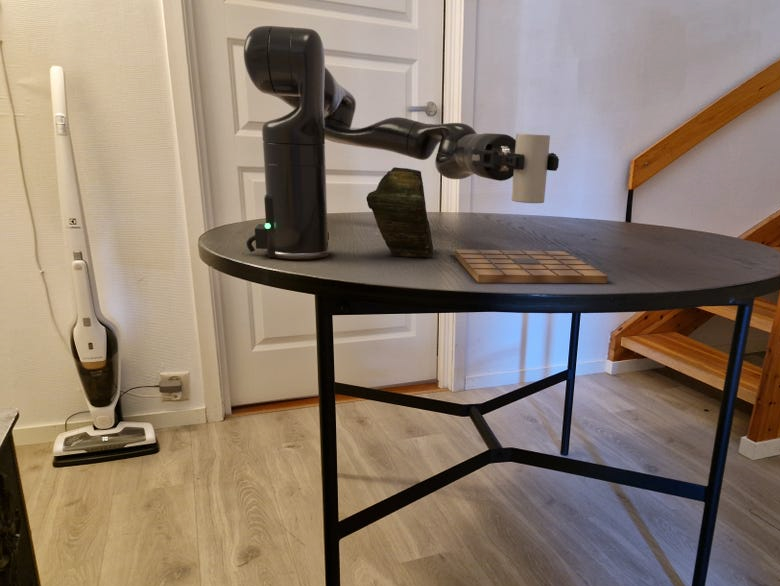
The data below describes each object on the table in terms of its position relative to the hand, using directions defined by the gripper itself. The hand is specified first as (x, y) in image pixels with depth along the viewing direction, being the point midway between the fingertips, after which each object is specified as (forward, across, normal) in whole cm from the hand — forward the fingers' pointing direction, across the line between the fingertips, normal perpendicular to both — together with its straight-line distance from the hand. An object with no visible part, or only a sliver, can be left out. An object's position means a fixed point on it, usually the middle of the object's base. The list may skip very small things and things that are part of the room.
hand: (538, 162), depth 93 cm
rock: (-16, +16, -17) cm, 29 cm away
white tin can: (-3, 0, -6) cm, 7 cm away
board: (-1, 0, -17) cm, 17 cm away
